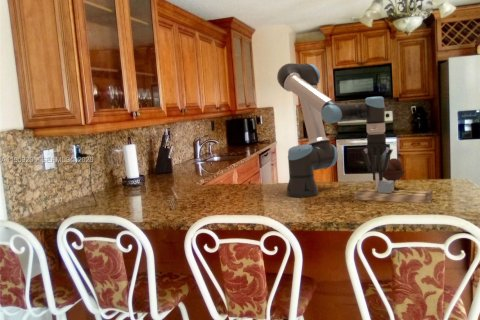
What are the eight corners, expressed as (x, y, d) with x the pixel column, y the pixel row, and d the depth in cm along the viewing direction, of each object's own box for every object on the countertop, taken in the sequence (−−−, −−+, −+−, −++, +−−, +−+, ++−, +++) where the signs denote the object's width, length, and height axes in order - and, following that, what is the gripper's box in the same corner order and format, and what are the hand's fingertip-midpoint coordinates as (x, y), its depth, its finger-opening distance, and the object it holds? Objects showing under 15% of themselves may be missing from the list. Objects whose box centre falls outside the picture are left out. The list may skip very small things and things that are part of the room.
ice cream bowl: (400, 187, 198) (399, 156, 196) (407, 191, 187) (407, 158, 185) (378, 188, 199) (377, 157, 197) (383, 192, 188) (382, 160, 186)
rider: (378, 197, 173) (377, 183, 173) (382, 193, 179) (381, 180, 179) (390, 197, 171) (390, 183, 170) (394, 194, 177) (393, 180, 176)
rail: (354, 199, 178) (354, 190, 178) (359, 195, 185) (359, 187, 185) (430, 203, 163) (429, 193, 162) (432, 198, 169) (432, 189, 169)
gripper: (358, 134, 174) (360, 189, 177) (390, 133, 167) (392, 190, 170) (363, 133, 180) (365, 186, 183) (394, 132, 174) (395, 187, 176)
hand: (378, 188), depth 176 cm, fingers closed
